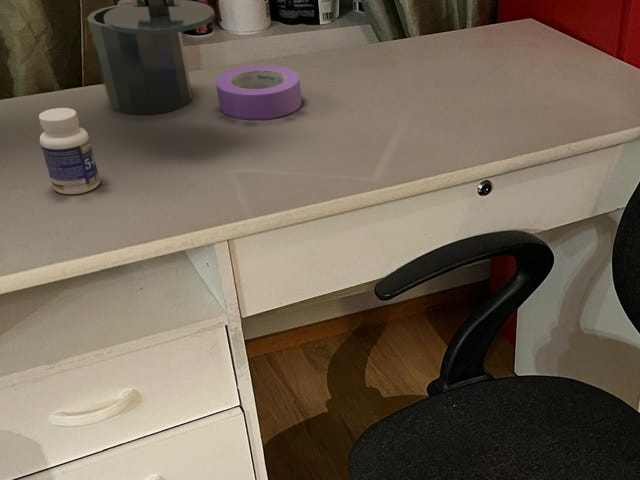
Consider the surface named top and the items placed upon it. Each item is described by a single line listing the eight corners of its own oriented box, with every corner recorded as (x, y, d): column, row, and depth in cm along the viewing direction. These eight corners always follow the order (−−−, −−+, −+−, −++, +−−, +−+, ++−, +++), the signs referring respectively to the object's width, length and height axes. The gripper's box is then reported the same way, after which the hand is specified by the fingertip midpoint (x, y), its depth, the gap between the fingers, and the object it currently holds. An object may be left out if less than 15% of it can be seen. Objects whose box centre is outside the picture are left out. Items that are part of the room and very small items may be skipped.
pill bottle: (101, 191, 102) (82, 119, 97) (53, 198, 101) (31, 125, 95) (99, 173, 106) (81, 103, 101) (53, 179, 105) (32, 108, 99)
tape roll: (288, 122, 120) (285, 95, 118) (207, 117, 121) (203, 90, 119) (311, 93, 130) (308, 67, 127) (235, 88, 131) (232, 62, 128)
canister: (100, 116, 121) (79, 27, 113) (117, 87, 130) (97, 3, 123) (186, 113, 122) (170, 26, 115) (196, 85, 131) (182, 2, 124)
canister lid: (95, 40, 98) (85, -3, 96) (117, 9, 108) (108, -31, 105) (209, 39, 100) (202, -4, 97) (220, 8, 110) (214, -31, 107)
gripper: (231, -130, 98) (248, -3, 107) (43, -132, 96) (75, -1, 104) (226, -121, 93) (244, 12, 102) (27, -122, 91) (62, 14, 99)
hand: (157, 5), depth 103 cm, fingers closed on canister lid, 2 cm apart
